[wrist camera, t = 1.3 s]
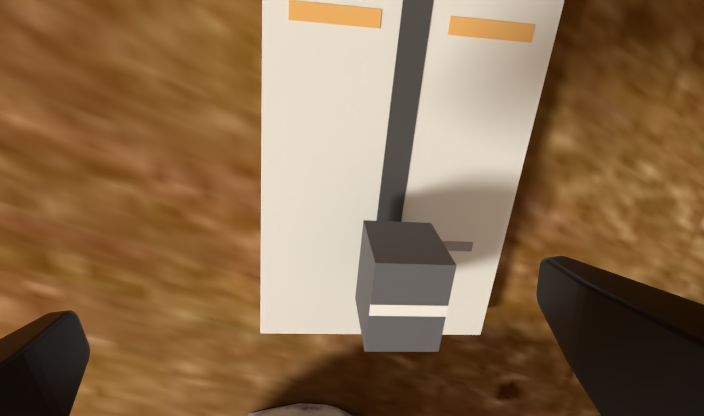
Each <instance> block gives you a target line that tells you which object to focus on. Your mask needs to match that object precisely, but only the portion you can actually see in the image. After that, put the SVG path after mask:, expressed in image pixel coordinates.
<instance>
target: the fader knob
mask: <svg viewBox="0 0 704 416" xmlns="http://www.w3.org/2000/svg"><path fill="white" fill-rule="evenodd" d="M456 266H457V265H456V263H455V262H454V260H453V259H452V257H451V255H450V254H449V252H448V250H447V249H446V247H445V245H444V244H443V242H442V240H441V239H440V237H439V235H438V234H437V232H436V230H435V229H434V227H433V225H432V224H431V223H420V222H395V221H370V220H363V230H362V239H361V248H360V257H359V267H358V276H357V285H356V295H355V300H356V306H357V311H358V317H359V323H360V329H361V334H362V340H363V346H364V352H439V347H440V343H441V338H442V333H443V328H444V323H445V319H446V316H447V312H448V307H449V306H448V304H449V299H450V295H451V290H452V285H453V280H454V276H455V271H456Z"/></svg>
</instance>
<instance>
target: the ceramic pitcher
mask: <svg viewBox="0 0 704 416" xmlns="http://www.w3.org/2000/svg"><path fill="white" fill-rule="evenodd" d="M248 416H352V415H350V414H348V413H347V412H345V411H343V410H341V409H339V408H337V407H333V406H330V405H323V404H304V403H298V404H293V405H288V406H283V407H278V408H273V409H268V410H263V411H258V412H253V413H249V414H248Z"/></svg>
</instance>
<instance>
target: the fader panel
mask: <svg viewBox="0 0 704 416" xmlns="http://www.w3.org/2000/svg"><path fill="white" fill-rule="evenodd" d="M563 4H564V0H262V140H261V303H260V333H286V334H361V329H360V323H359V317H358V311H357V306H356V300H355V295H356V285H357V276H358V267H359V257H360V248H361V239H362V230H363V220H370V221H395V222H420V223H431V224H432V225H433V227H434V229H435V230H436V232H437V234H438V235H439V237H440V239H441V240H442V242H443V244H444V245H445V247H446V249H447V250H448V252H449V254H450V255H451V257H452V259H453V260H454V262H455V263H456V265H457V266H456V271H455V276H454V280H453V285H452V290H451V295H450V299H449V304H448V306H449V307H448V312H447V316H446V319H445V323H444V328H443V333H442V335H480V334H481V330H482V326H483V322H484V318H485V314H486V311H487V307H488V303H489V299H490V295H491V291H492V287H493V283H494V279H495V275H496V271H497V267H498V263H499V259H500V255H501V251H502V247H503V243H504V239H505V235H506V231H507V227H508V223H509V219H510V215H511V211H512V207H513V203H514V199H515V195H516V191H517V187H518V183H519V179H520V175H521V171H522V167H523V163H524V159H525V155H526V152H527V148H528V144H529V140H530V136H531V132H532V128H533V124H534V120H535V116H536V112H537V108H538V104H539V100H540V96H541V92H542V88H543V84H544V80H545V76H546V72H547V68H548V64H549V60H550V56H551V52H552V48H553V44H554V40H555V36H556V32H557V28H558V24H559V20H560V16H561V12H562V8H563Z"/></svg>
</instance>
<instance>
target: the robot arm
mask: <svg viewBox="0 0 704 416" xmlns="http://www.w3.org/2000/svg"><path fill="white" fill-rule="evenodd" d="M537 301H538V304H539V306H540V308H541V310H542V312H543V314H544V316H545V318H546V320H547V322H548V324H549V326H550V328H551V330H552V332H553V334H554V336H555V338H556V340H557V342H558V344H559V346H560V348H561V350H562V352H563V354H564V356H565V358H566V360H567V361H568V363H569V365H570V367H571V369H572V370H573V372H574V374H575V375H576V377H577V379H578V380H579V382H580V383H581V385H582V386H583V388H584V389H585V391H586V393H587V394H588V396H589V397H590V399H591V400H592V402H593V403H594V405H595V406H596V408H597V409H598V411H599V413H600V414H601V416H704V305H703V304H700V303H697V302H694V301H692V300H689V299H686V298H683V297H680V296H677V295H674V294H672V293H669V292H666V291H663V290H660V289H657V288H654V287H652V286H649V285H646V284H643V283H640V282H637V281H634V280H631V279H629V278H626V277H623V276H620V275H617V274H614V273H611V272H609V271H606V270H603V269H600V268H597V267H594V266H591V265H588V264H586V263H583V262H580V261H577V260H574V259H571V258H568V257H565V256H556V257H547V258H544V259H543V260H542V261H541V263H540V268H539V276H538V284H537ZM89 355H90V347H89V343H88V341H87V338H86V335H85V333H84V330H83V328H82V325H81V322H80V320H79V317H78V315H77V314H76V313H75V312H73V311H61V312H52V313H48V314H46V315H44V316H42V317H40V318H38V319H37V320H35V321H33V322H31V323H29V324H27V325H26V326H24V327H22V328H20V329H18V330H16V331H15V332H13V333H11V334H9V335H7V336H5V337H3V338H2V339H0V416H69V415H70V412H71V409H72V406H73V404H74V401H75V398H76V395H77V392H78V389H79V386H80V383H81V380H82V377H83V375H84V372H85V369H86V366H87V363H88V360H89Z"/></svg>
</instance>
